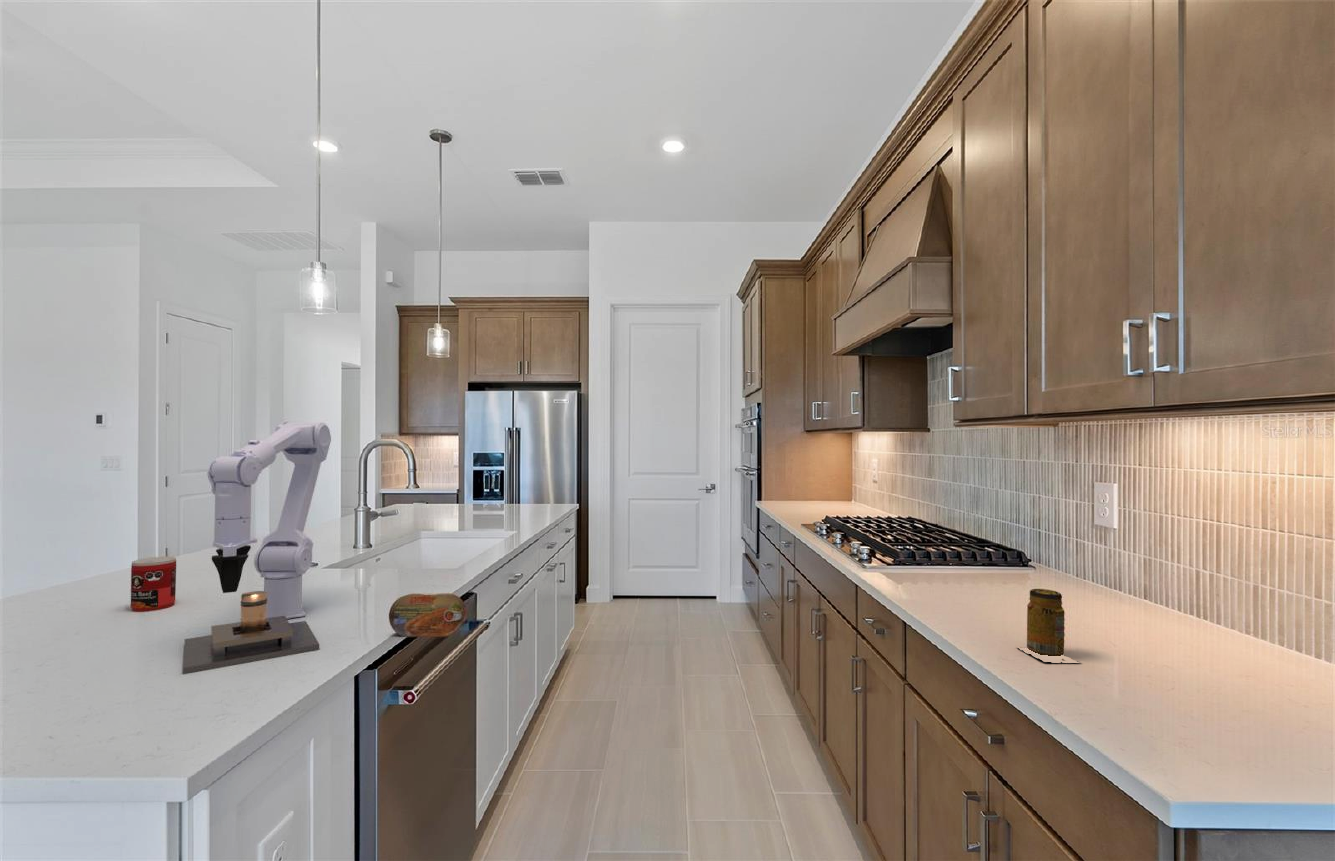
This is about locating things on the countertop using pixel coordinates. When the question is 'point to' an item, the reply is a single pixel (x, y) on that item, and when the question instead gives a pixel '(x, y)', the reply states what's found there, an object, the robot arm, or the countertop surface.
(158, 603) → the canned food
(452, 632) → the tin
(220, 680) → the countertop surface
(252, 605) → the tan rectangular block
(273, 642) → the grey slotted base plate
